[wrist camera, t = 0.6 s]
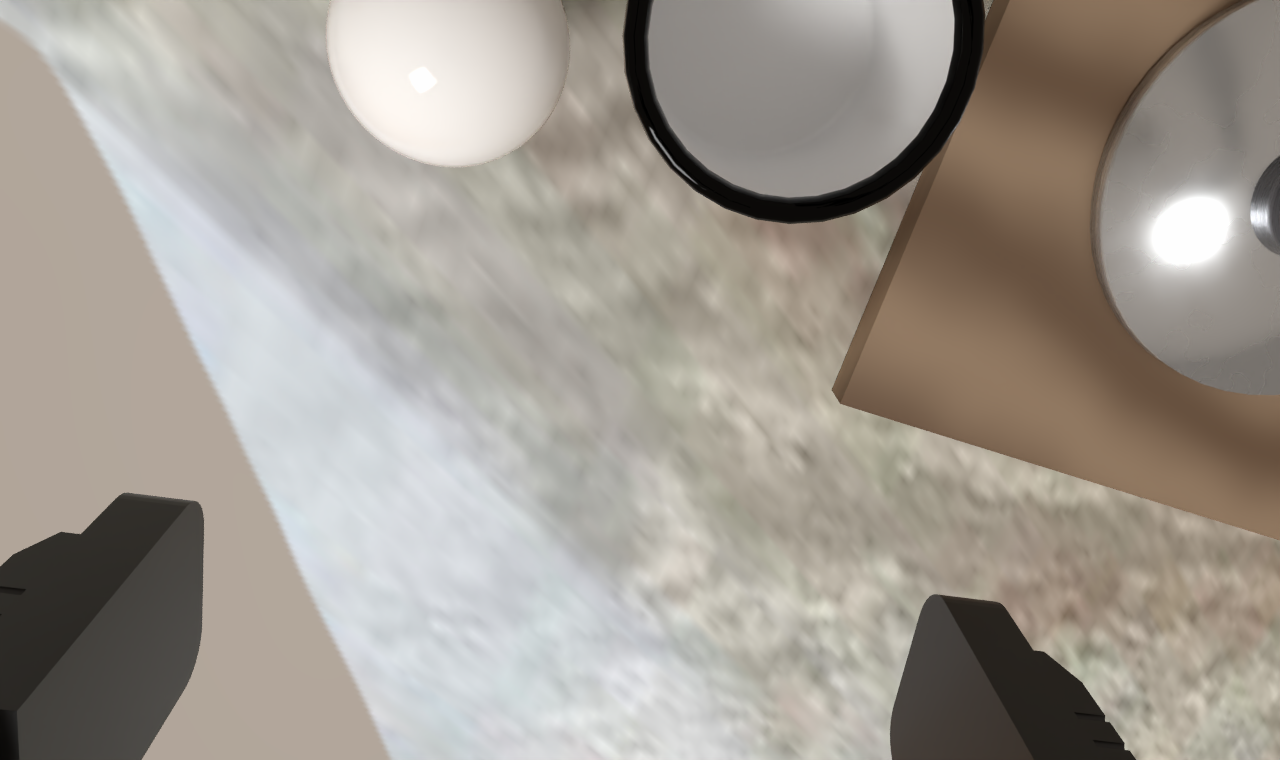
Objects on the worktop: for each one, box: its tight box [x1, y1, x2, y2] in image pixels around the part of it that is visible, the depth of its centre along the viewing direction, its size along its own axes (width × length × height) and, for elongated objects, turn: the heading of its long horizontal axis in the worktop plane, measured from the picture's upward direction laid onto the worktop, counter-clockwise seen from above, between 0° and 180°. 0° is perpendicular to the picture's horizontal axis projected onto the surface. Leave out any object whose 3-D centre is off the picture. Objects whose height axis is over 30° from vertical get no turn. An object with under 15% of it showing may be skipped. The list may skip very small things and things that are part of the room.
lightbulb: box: [326, 0, 570, 167], centre depth 30 cm, size 6×6×11 cm
